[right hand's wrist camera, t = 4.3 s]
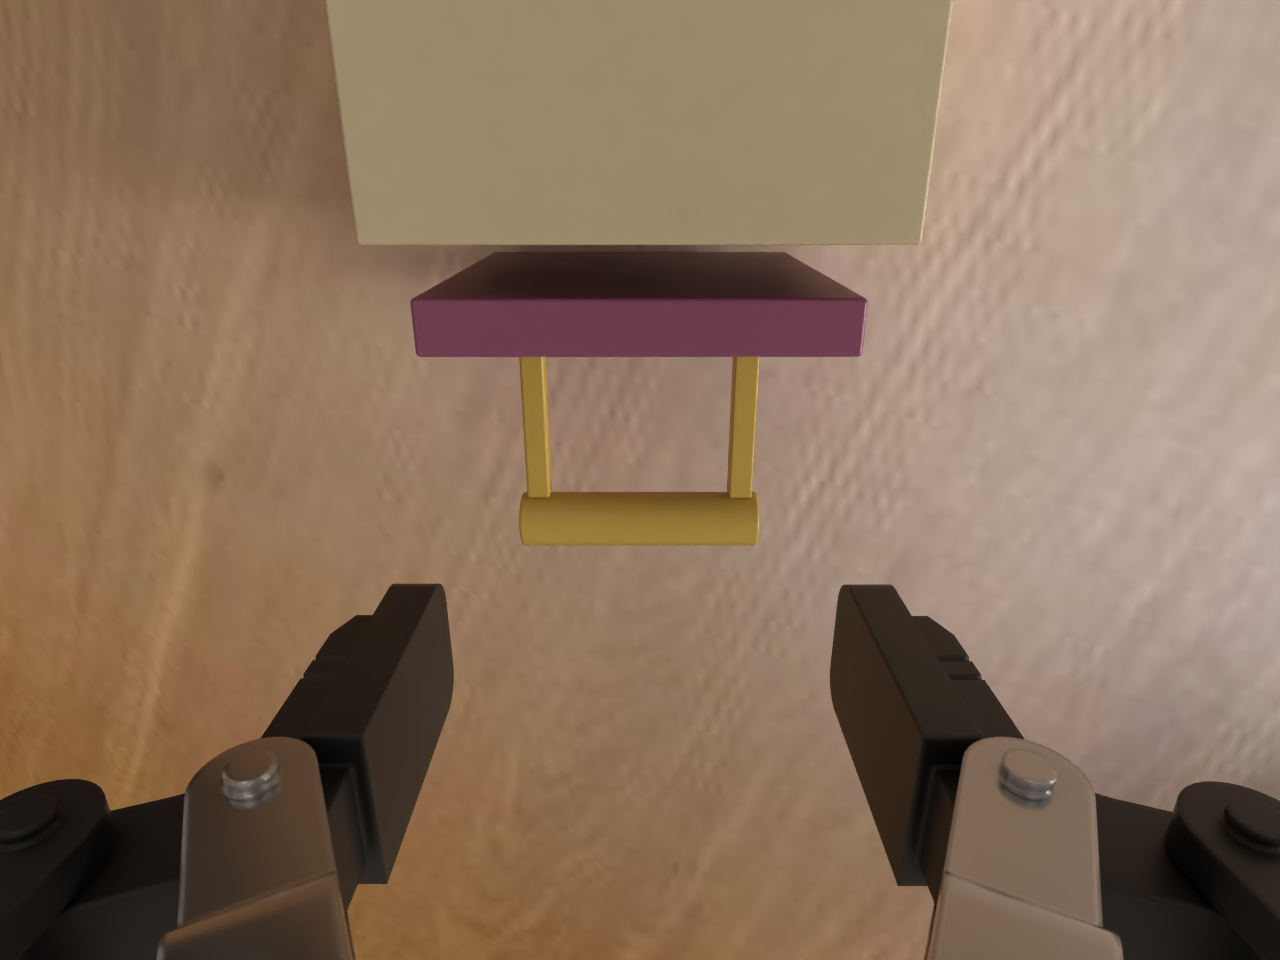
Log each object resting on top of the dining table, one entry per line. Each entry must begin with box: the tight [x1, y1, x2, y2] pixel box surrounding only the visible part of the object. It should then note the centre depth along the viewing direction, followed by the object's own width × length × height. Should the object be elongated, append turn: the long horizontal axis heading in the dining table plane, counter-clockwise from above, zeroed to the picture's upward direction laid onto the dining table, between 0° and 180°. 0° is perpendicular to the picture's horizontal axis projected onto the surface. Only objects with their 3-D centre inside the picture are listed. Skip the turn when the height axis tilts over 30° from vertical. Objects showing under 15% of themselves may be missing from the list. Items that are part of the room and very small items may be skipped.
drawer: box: [411, 252, 868, 545], centre depth 18 cm, size 26×9×9 cm, turn 0°
